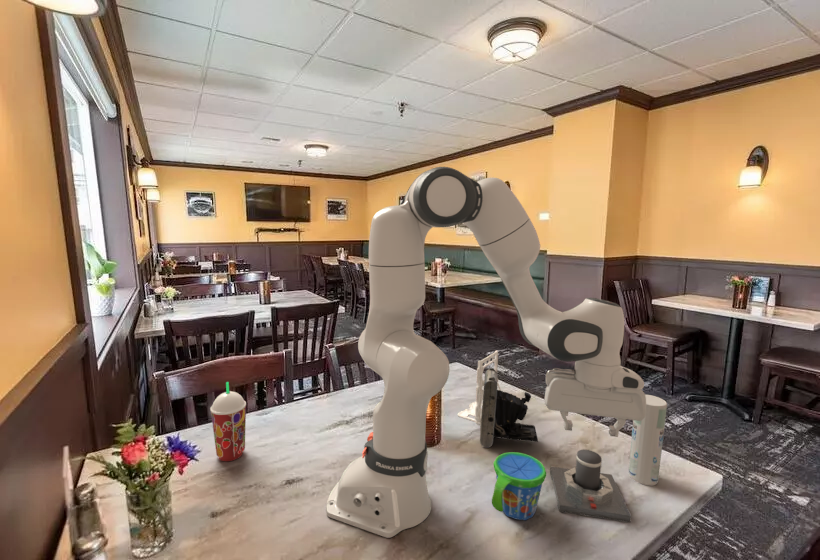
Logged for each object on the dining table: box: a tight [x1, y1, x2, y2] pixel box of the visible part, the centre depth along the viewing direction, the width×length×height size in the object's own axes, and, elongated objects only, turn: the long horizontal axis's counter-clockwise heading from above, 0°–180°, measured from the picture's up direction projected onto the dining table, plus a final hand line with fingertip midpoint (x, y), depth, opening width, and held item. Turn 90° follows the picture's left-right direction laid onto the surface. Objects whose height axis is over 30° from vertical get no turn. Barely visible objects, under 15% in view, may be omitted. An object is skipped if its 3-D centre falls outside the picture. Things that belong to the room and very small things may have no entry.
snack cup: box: [491, 451, 547, 521], centre depth 84 cm, size 16×10×10 cm
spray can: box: [628, 394, 668, 486], centre depth 95 cm, size 6×6×20 cm
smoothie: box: [209, 381, 247, 462], centre depth 102 cm, size 8×8×20 cm
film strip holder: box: [457, 350, 502, 426], centre depth 126 cm, size 14×14×20 cm
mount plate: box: [549, 466, 632, 523], centre depth 90 cm, size 14×14×4 cm
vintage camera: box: [479, 367, 539, 449], centre depth 110 cm, size 10×16×20 cm, turn 79°
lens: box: [575, 449, 603, 491], centre depth 89 cm, size 5×5×8 cm
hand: (590, 432), depth 87 cm, fingers open, 8 cm apart
